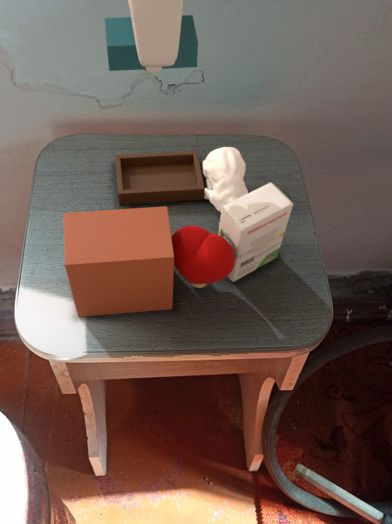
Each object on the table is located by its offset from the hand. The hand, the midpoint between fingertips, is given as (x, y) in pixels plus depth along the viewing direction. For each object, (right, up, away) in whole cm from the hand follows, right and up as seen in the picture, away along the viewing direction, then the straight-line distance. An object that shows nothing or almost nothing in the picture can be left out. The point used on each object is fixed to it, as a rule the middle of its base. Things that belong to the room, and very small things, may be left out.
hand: (150, 50), depth 65 cm
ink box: (+13, -21, +19) cm, 31 cm away
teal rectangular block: (0, 0, +1) cm, 1 cm away
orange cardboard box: (-5, -26, +15) cm, 30 cm away
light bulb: (+6, -25, +16) cm, 30 cm away
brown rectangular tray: (-1, -8, +25) cm, 26 cm away
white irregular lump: (+10, -13, +23) cm, 28 cm away
